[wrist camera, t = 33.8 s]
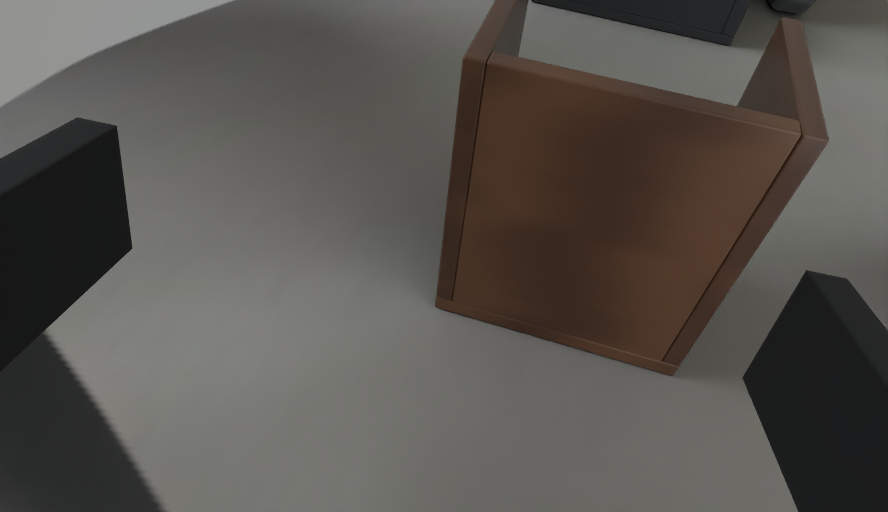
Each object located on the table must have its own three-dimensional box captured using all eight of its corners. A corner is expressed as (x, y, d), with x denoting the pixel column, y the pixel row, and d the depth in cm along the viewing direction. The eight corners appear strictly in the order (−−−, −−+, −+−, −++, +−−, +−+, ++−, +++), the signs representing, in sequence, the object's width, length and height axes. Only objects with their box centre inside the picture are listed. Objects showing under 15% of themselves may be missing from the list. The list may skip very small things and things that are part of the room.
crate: (434, 307, 22) (462, 56, 15) (477, 199, 26) (516, -39, 19) (673, 376, 21) (831, 140, 14) (679, 252, 25) (803, 20, 18)
